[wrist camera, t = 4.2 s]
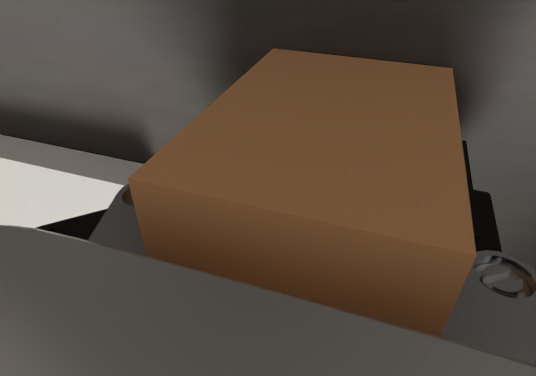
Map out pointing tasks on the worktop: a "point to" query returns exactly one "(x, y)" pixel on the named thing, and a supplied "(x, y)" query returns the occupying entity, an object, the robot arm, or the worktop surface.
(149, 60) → the worktop surface
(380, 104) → the block
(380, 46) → the worktop surface
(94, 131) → the worktop surface
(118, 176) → the plate
